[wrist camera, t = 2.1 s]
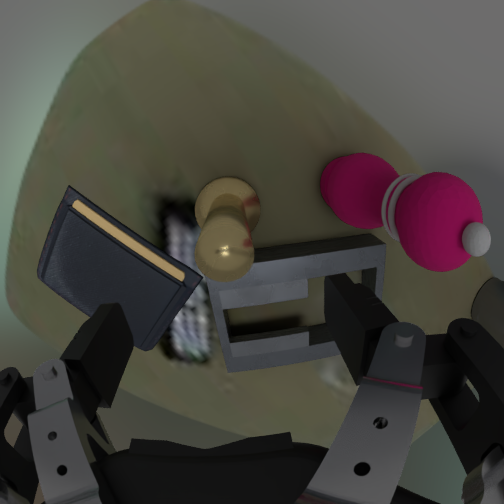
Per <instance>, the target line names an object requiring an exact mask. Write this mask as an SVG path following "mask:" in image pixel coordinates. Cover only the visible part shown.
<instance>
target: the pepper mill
mask: <svg viewBox="0 0 504 504" xmlns="http://www.w3.org/2000/svg"><path fill="white" fill-rule="evenodd" d="M320 189H321V193H322V196H323V198H324V200H325V202H326V203H327V204H328V205H329V206H330V207H331V208H332V209H333V211H334V213H335V214H336V215H337V216H338V217H339V218H340V219H341V220H342V221H344V222H345V223H347V224H349V225H351V226H354V227H356V228H362V229H373V228H378V227H381V226H384V227H385V229H386V231H387V232H388V234H389V235H390V236H391V237H392V238H393V239H394V240H396V241H398V242H400V243H401V245H402V247H403V249H404V250H405V252H406V254H407V255H408V256H409V257H410V258H411V259H412V260H413V261H414V262H415V263H416V264H418V265H420V266H422V267H424V268H426V269H428V270H432V271H438V272H444V271H450V270H453V269H456V268H458V267H460V266H461V265H463V264H464V263H465V262H466V261H467V260H468V259H469V258H470V257H471V256H482V255H483V254H485V253H486V252H487V250H488V249H489V247H490V243H491V236H490V233H489V230H488V229H487V227H486V226H484V225H483V219H482V210H481V206H480V203H479V200H478V198H477V196H476V195H475V193H474V191H473V190H472V189H471V187H470V186H469V185H467V184H466V183H465V182H464V181H463V180H461V179H460V178H458V177H456V176H454V175H451V174H448V173H442V172H433V173H429V174H426V175H423V176H422V175H418V174H412V173H410V174H405V175H402V176H399V175H398V174H397V172H396V171H395V170H394V168H393V167H392V166H391V165H390V164H389V163H387V162H386V161H384V160H383V159H382V158H380V157H378V156H375V155H371V154H367V153H356V154H352V155H349V156H344V157H339V158H337V159H334V160H333V161H331V162H330V163H329V164H328V165H327V166H326V168H325V169H324V171H323V173H322V176H321V181H320Z"/></svg>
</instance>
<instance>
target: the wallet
mask: <svg viewBox="0 0 504 504" xmlns="http://www.w3.org/2000/svg"><path fill="white" fill-rule="evenodd" d="M37 275H38V278H39V279H40V280H41V281H42V282H43V283H44V284H46V285H47V286H48V287H49V288H50V289H52V290H53V291H54V292H56V293H57V294H58V295H60V296H61V297H62V298H64V299H65V300H66V301H68V302H69V303H70V304H72V305H73V306H75V307H76V308H77V309H79V310H80V311H82V312H83V313H85V314H86V315H88V316H89V317H92V315H93V314H94V313H95V311H96V310H97V308H98V307H99V306H100V305H101V304H105V303H119V304H120V305H121V307H122V309H123V312H124V314H125V317H126V320H127V322H128V325H129V327H130V330H131V332H132V335H133V339H134V346H135V347H137V348H139V349H141V350H143V351H148V350H152V349H153V348H154V346H155V345H156V344H157V343H158V341H159V340H160V338H161V337H162V335H163V334H164V332H165V331H166V329H167V328H168V326H169V325H170V323H171V322H172V320H173V319H174V318H175V316H176V315H177V314H178V312H179V311H180V309H181V308H182V307H183V305H184V304H185V303H186V301H187V300H188V299H189V297H190V296H191V294H192V293H193V291H194V290H195V288H196V287H197V286H198V284H199V283H200V281H201V280H202V279H203V277H202V276H201V275H200V274H198V273H197V272H195V271H194V270H192V269H191V268H190V267H188V266H186V265H185V264H183V263H181V262H180V261H178V260H176V259H175V258H173V257H171V256H170V255H168V254H167V253H165V252H164V251H162V250H161V249H159V248H158V247H156V246H155V245H153V244H152V243H150V242H149V241H147V240H146V239H144V238H143V237H141V236H140V235H138V234H137V233H135V232H134V231H132V230H131V229H130V228H128V227H127V226H125V225H124V224H122V223H121V222H119V221H118V220H117V219H115V218H114V217H112V216H111V215H109V214H108V213H107V212H105V211H104V210H102V209H101V208H100V207H98V206H97V205H95V204H94V203H93V202H91V201H90V200H89V199H87V198H86V197H84V196H83V195H82V194H80V193H79V192H78V191H76V190H75V189H74V188H72V187H71V186H70V185H68V188H67V190H66V192H65V195H64V197H63V199H62V201H61V203H60V205H59V207H58V209H57V211H56V214H55V217H54V219H53V222H52V224H51V227H50V230H49V232H48V235H47V238H46V241H45V244H44V247H43V250H42V253H41V257H40V260H39V264H38V268H37Z"/></svg>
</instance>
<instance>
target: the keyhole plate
mask: <svg viewBox="0 0 504 504" xmlns="http://www.w3.org/2000/svg"><path fill="white" fill-rule="evenodd" d="M385 255H386V244H385V243H384V242H382V241H381V240H380V239H378V238H377V237H375V236H374V235H372V234H363V235H356V236H348V237H341V238H334V239H326V240H319V241H311V242H304V243H297V244H289V245H282V246H275V247H267V248H260V249H254V261H253V264H252V266H251V268H250V270H249V271H248V272H247V273H246V274H245V275H244V276H243V277H241V278H239V279H237V280H235V281H231V282H218V281H215V280H212V279H210V278H208V277H207V276H206V280H207V285H208V290H209V294H210V299H211V304H212V308H213V313H214V317H215V321H216V326H217V330H218V334H219V338H220V343H221V347H222V351H223V355H224V359H225V363H226V367H227V371H228V373H230V372H239V371H247V370H255V369H263V368H270V367H276V366H283V365H289V364H294V363H300V362H305V361H311V360H316V359H321V358H326V357H330V356H335V355H339V354H341V353H340V351H339V349H338V347H337V345H336V343H335V341H334V339H333V337H332V335H331V333H330V331H329V329H328V327H327V324H326V323H325V324H320V325H314V326H309V327H307V326H302V327H296V328H290V329H283V330H277V331H270V332H264V333H257V334H249V335H241V336H233V337H232V333H231V328H230V323H229V318H228V313H227V309H231V308H239V307H246V306H254V305H261V304H268V303H275V302H281V301H288V300H294V299H300V298H306V297H308V280H307V279H308V278H315V277H321V276H327V275H333V274H339V273H345V272H351V271H357V270H362V285H364V286H366V287H368V288H370V289H371V290H372V291H373V292H374V293H375V294H376V296H377V297H378V298H379V299H380V300H382V291H383V281H384V269H385Z"/></svg>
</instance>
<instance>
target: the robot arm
mask: <svg viewBox="0 0 504 504" xmlns="http://www.w3.org/2000/svg"><path fill="white" fill-rule="evenodd" d="M324 314H325V321H326V324H327V327H328V329H329V331H330V333H331V335H332V337H333V339H334V341H335V343H336V345H337V347H338V349H339V351H340V353H341V355H342V357H343V359H344V361H345V363H346V365H347V367H348V369H349V371H350V373H351V375H352V378H353V380H354V382H355V384H356V386H358V385H359V388H358V390H357V393H356V395H355V397H354V399H353V402H352V404H351V406H350V408H349V411H348V413H347V415H346V417H345V419H344V421H343V423H342V425H341V427H340V429H339V431H338V433H337V435H336V437H335V439H334V441H333V443H332V445H331V447H330V449H328V448H325V447H322V446H318V445H314V444H308V443H300V442H292V438H291V433H290V432H286V433H280V434H273V435H266V436H258V437H250V438H246V439H243V440H239V441H236V442H232V443H229V444H225V445H222V446H218V447H214V448H210V449H201V448H196V447H191V446H187V445H182V444H178V443H174V442H170V441H164V440H163V441H162V440H145V439H131V443H130V448H129V449H126V450H122V451H118V452H117V451H116V450H115V448H114V446H113V444H112V442H111V440H110V438H109V436H108V433H107V431H106V429H105V427H104V425H103V423H102V421H101V418H100V416H99V414H98V413H97V412H96V411H97V408H98V407H103V408H111V405H112V402H113V399H114V397H115V394H116V391H117V388H118V386H119V383H120V381H121V378H122V375H123V373H124V370H125V368H126V365H127V363H128V360H129V358H130V355H131V353H132V350H133V347H134V339H133V335H132V332H131V330H130V327H129V325H128V322H127V320H126V317H125V314H124V312H123V309H122V307H121V305H120V304H119V303H105V304H101V305H100V306H99V307H98V308H97V310H96V311H95V313H94V314H93V315H92V317H91V318H89V319H88V320H87V321H86V322H84V323H83V325H82V326H81V327H80V329H79V330H78V333H76V335H75V336H74V339H72V341H71V342H70V344H69V345H68V347H67V348H66V350H65V351H64V353H63V354H62V356H61V357H60V359H52V360H48V361H46V362H44V363H42V364H41V365H40V366H39V367H38V368H37V369H36V371H35V372H34V375H33V377H27V378H22V376H21V375H20V373H19V372H18V370H17V369H16V368H14V367H9V368H6V369H4V370H2V371H1V372H0V504H33V503H34V499H35V494H36V491H37V487H38V483H39V482H40V485H41V489H42V492H43V495H44V499H45V501H44V502H43V503H41V504H440V503H437V502H435V501H432V500H430V499H427V498H425V497H423V496H420V495H418V494H415V493H413V492H411V491H409V490H407V489H405V488H403V487H400V486H398V485H397V484H398V482H399V479H400V476H401V473H402V470H403V467H404V464H405V461H406V458H407V454H408V451H409V448H410V444H411V441H412V437H413V433H414V429H415V425H416V421H417V417H418V412H419V407H420V403H421V400H422V399H429V401H430V403H431V405H432V406H433V408H434V410H435V412H436V414H437V416H438V417H439V419H440V421H441V423H442V425H443V427H444V429H445V431H446V432H447V434H448V436H449V438H450V440H451V442H452V444H453V446H454V448H455V450H456V452H457V454H458V457H459V459H460V461H461V463H462V465H463V467H464V469H465V471H466V474H467V477H466V478H465V481H464V483H463V488H462V492H463V493H462V496H461V499H462V501H463V503H464V504H504V281H501V280H499V279H498V278H492V279H490V280H488V281H487V282H486V283H485V284H484V286H483V287H482V288H481V290H480V291H479V293H478V295H477V296H476V299H475V301H474V304H473V307H472V318H473V320H471V319H467V318H459V319H456V320H453V321H452V322H451V323H450V324H449V327H448V330H447V333H446V334H435V335H425V333H424V331H423V330H422V329H421V328H420V327H418V326H417V325H415V324H412V323H408V322H399V321H398V320H397V318H396V317H395V316H394V315H393V314H392V313H391V311H390V310H389V309H388V308H387V307H386V306H385V305H384V303H382V301H381V300H380V299H379V298H378V297H377V296H376V294H375V293H374V292H373V291H372V290H371V289H370V288H368V287H366V286H364V285H362V284H360V283H357V284H354V283H353V281H352V280H351V279H350V278H349V277H348V276H347V274H346V273H341V274H335V275H329V276H326V277H325V281H324ZM467 379H469V381H470V382H471V383H472V385H473V386H474V388H475V389H476V390H477V392H478V394H479V402H478V400H477V399H476V397H475V395H474V394H473V392H472V391H471V389H470V388H469V387H468V385H467V384H466V381H467ZM12 413H14V415H15V416H16V417H17V418H18V420H19V421H20V422H21V423H22V424H23V426H22V429H21V431H20V433H19V436H18V438H17V440H16V443H15V445H14V448H13V447H12V446H11V445H10V444H9V443H8V442H7V441H6V439H5V436H4V429H5V427H6V425H7V423H8V420H9V419H10V417H11V414H12Z"/></svg>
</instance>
